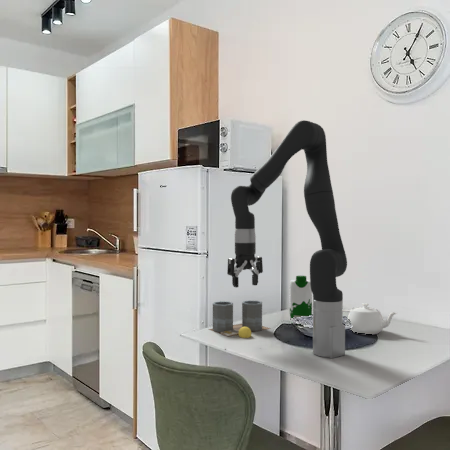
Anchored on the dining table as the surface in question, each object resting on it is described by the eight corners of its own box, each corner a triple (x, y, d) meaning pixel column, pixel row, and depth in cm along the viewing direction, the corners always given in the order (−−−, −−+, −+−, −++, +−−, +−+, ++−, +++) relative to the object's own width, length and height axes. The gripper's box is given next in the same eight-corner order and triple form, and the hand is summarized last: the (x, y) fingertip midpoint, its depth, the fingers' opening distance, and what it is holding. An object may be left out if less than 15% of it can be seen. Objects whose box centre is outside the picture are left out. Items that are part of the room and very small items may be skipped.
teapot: (333, 332, 178) (333, 303, 178) (343, 325, 190) (343, 298, 189) (393, 340, 167) (394, 309, 166) (401, 332, 178) (401, 303, 178)
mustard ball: (254, 340, 167) (254, 327, 167) (243, 342, 164) (243, 328, 164) (246, 337, 171) (246, 324, 170) (235, 339, 168) (235, 326, 168)
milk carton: (289, 328, 184) (290, 276, 184) (289, 322, 193) (289, 273, 193) (312, 328, 183) (313, 277, 183) (310, 323, 192) (311, 274, 192)
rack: (271, 331, 179) (271, 302, 178) (228, 340, 167) (228, 308, 167) (249, 325, 189) (249, 297, 189) (208, 332, 177) (208, 302, 177)
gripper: (235, 242, 164) (235, 289, 164) (267, 241, 172) (267, 285, 172) (223, 241, 170) (223, 286, 170) (254, 240, 178) (254, 283, 178)
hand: (245, 286), depth 171 cm, fingers open, 8 cm apart
